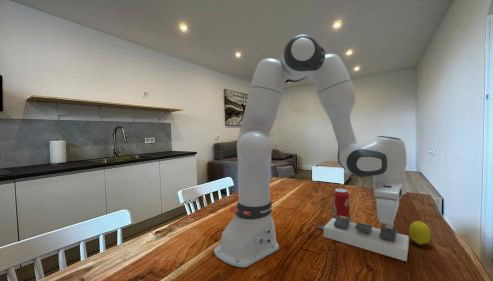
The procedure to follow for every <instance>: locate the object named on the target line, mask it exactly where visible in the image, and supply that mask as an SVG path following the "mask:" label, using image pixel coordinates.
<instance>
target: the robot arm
mask: <svg viewBox="0 0 493 281" xmlns="http://www.w3.org/2000/svg"><path fill="white" fill-rule="evenodd" d="M306 78H308V79H310V81H311V82H312V84H313V85H314V88H315V91H316V94H317V96H318V99H319V101H320V105H321V106H322V108H323V110H324V112H325V114H326V115H327V117H328V120H329V121H330V124H331V126H332V129H333V132H334V136H335V138H336V142H337V146H338V149H337V163H338V164H339V165H340V167H341V168H342V169H343V170H346V171H348V172H349V173H350V174H352V175H354V176H356V177H358V178H359V177H360V178H363V177H364V178H365V177H373V196H374V197H375V201H376V204H375V205H376V215H377V220H378V222H379V223H381V224H383V225H386V228H387V229H391V230H392V228H393V227H394V223H395V222H394V221H395V218H396V215H397V212H398V210H399V206H400V199H402V196H403V195H406V194H407V181H408V180H407V175H406V168H407V148H406V145H405V142H404V140H402V139H401V138H399V137H393V136H386V135H378V136H376V137H375V138H374V139H372V140H370V141H368V142H366V143H364V144H362V145H360V144H359V142H358V141H357V139H356V136H355V132H354V129H353V126H352V122H351V114H352V111H353V108H354V106H355V104H356V101H357V100H356V92H355V88H354V84H353V82H352V79H351V76H350V74H349V71H348V69H347V67H346V65H345V64H344V61H342V59H341V57H340V56H339V55H338V54H336V53H326V51H325V49H324V48H323V47H322V46H321V45H320V44H319V43H318V42H317V40H316V39H314V37H312V36H310V35H309V34H304V33H303V34H297V35H295V36H293V37H292V38H291V39H290V40H289V41H288V42H287V43H286V45H285V47H284V49H283V53H282V55H281V57H279V58H271V57H269V58H263V59H262V60H260V61H259V63H258V64H257V66H256V69H255V71H254V74H253V76H252V79H251V82H250V83H251V84H250V87H249V91H248V95H247V99H246V100H247V101H246V104H245V108H244V111H243V113H244V114H243V117H242V122H241V125H240V128H239V133H238V137H237V142H236V152H237V154H236V155H237V157H236V158H237V190H238V193H237V194H238V201H237V204H236V206H234V205H231V206H230V207H229V211H230V213H234V214H235V215H234V216H233V217H232V219H231V220H230V221H229V223H228V224H227V225H226V227H225V229H223V231H222V233H221V240H220V243H219V244H218V245H216V246H215V247H214V250H213V253H214V255H215V257H217V258H218V259H219V260H220V261H223V262H224V263H226V264H227V265H231V266H234V267H239V268H247V267H249V266H251V265H254V264H255V263H256V262H258V261H260V260H262V259H264V258H265V257H267V256H270V255H271V254H273V253H275V252H276V251H278V250H279V249H280V246H279V243H278V242H277V236H276V235H277V234H276V228H275V222H274V219H273V217H272V210H273V209H272V208H273V205H272V201H271V192H270V190H271V188H270V187H271V186H270V184H271V182H270V181H271V168H272V151H273V147H272V141H271V139H270V135H271V131H272V129H273V126H274V123H275V121H276V119H277V115H278V111H279V106H280V104H281V99H282V94H283V91H284V90H283V89H284V85H285V84H286V83H297V82H301V81H303V80H304V79H306Z"/></svg>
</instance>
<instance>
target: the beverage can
mask: <svg viewBox="0 0 493 281" xmlns="http://www.w3.org/2000/svg"><path fill="white" fill-rule="evenodd" d="M332 196H333V198H332V200H333V201H332V202H333V211H332V212H333V216H334V218H335V219H336V218H337V217H338V216H339V215H341V216H346V217H350V193H349V192H348V190H347V189H345V188H335V189H334V191H333V192H332Z"/></svg>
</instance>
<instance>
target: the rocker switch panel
mask: <svg viewBox="0 0 493 281" xmlns="http://www.w3.org/2000/svg"><path fill="white" fill-rule="evenodd" d="M335 221H336V217H332V218H331V219H330V220H329V221H328V222H327V223H326V224H325V225H324V226H322V225H319V224H318V225H317V229H318V230H321V231H323V237H324V238H327V239H330V240H334V241H336V242H337V241H338V242H340V243H344V244H347V245H350V246H354V247H357V248H360V249H363V250H367V251H370V252H373V253H377V254H380V255H382V256H383V255H384V256H387V257H390V258H394V259H398V260H400V261H404V262H407V260H408V253H409V246H410V245H409V244H410V241H409V240H410V235H406V234H402V233H398V232H397V233H396V239H395V242H393V241H389V240H385V239H381V238H380V231H381V228H376V227H373V226H372V229H371V231H370V232H365V231H361V230H357V229H355V225H357V223H355V222H351V221H350V223H349V225H348V226H347V228H346V229H343V228H339V227H335V226H334V222H335Z"/></svg>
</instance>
